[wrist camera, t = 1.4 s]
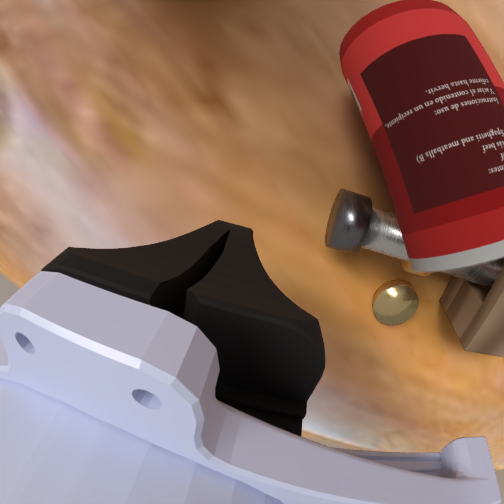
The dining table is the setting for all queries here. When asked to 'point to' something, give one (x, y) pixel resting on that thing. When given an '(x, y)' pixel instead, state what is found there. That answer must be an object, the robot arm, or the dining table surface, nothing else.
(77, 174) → the dining table surface
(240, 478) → the robot arm
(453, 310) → the block
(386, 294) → the spacer
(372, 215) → the shaft
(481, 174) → the canned food
